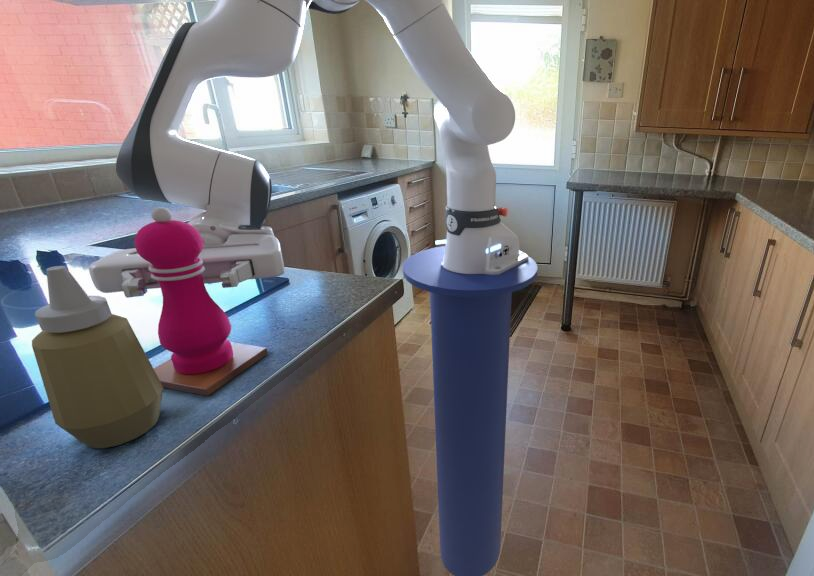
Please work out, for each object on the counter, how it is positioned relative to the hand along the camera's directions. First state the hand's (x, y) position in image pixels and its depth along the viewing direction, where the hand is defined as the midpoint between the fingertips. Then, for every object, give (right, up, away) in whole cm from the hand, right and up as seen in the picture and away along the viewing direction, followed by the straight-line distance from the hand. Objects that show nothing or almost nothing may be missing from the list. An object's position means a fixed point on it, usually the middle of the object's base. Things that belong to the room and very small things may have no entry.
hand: (181, 286), depth 48 cm
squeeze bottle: (-2, -15, -5) cm, 16 cm away
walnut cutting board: (-1, -11, +5) cm, 12 cm away
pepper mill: (-1, -10, +5) cm, 11 cm away
